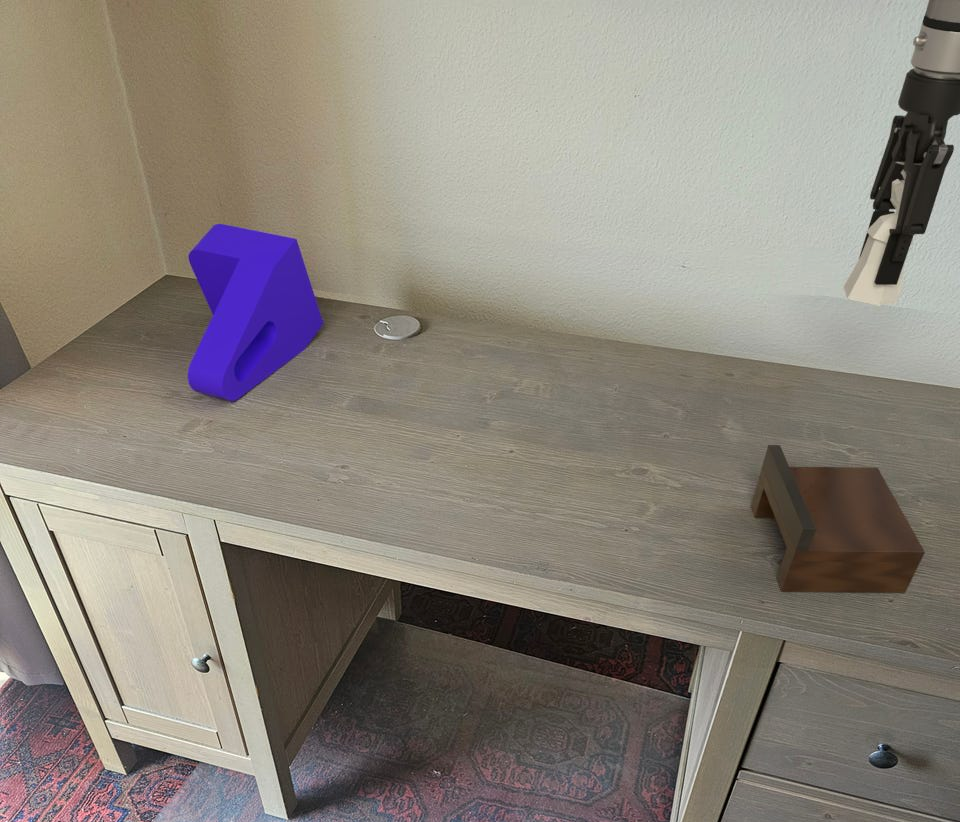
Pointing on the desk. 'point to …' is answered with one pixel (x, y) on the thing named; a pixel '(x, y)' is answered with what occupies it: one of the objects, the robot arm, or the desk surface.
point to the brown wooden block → (836, 528)
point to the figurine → (877, 257)
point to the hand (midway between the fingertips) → (877, 272)
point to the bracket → (250, 309)
